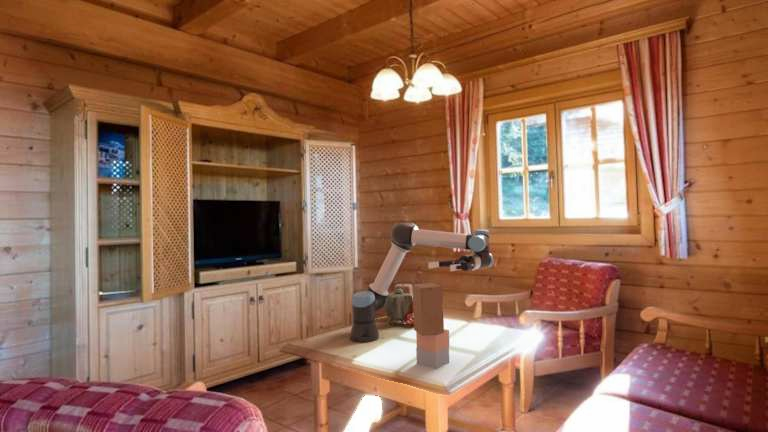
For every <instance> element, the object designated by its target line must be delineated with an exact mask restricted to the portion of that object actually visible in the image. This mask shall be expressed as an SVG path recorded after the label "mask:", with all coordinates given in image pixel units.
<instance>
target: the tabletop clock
mask: <svg viewBox="0 0 768 432" xmlns="http://www.w3.org/2000/svg"><path fill="white" fill-rule="evenodd" d="M396 283H397V284H398V283H401V284H404V282H403V281H401V280H397V281H395V282H394V283H393V288H394V287H395V285H396ZM402 286H403V285H402ZM402 286H401V287H402ZM401 287H400V286H398V287H395V288H398V289H396V290H395V292H394V291H393V292H391V293H389V294H388V296H387V301H386V304H385V306H384V310H385V316H386V317H387V318H390V321H389V322H388V324H389V325H391V324H392V322H393V320H400V324H401V325H404V323H405V322H404V321H405V320H406V319H405V318H407V315H408V314H409V313H410V314H411V313H413V312H412V310H411V306H412V303H413V301H412V296H413V295H412V296H411V294H408V293H403V290H402V289H400V288H401Z"/></svg>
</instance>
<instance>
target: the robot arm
mask: <svg viewBox="0 0 768 432" xmlns="http://www.w3.org/2000/svg"><path fill="white" fill-rule="evenodd" d="M390 236H391V237H390V238H391V240H390V242H391V247H390V249H389V251H388V253H387V256H385V259H384V260H383V263H382V264H381V267H380V269H379V271H378V273H377V275H376V277H375V280H374V282H373V283H370V284H368V287H367V289H366V290H363V291H362V290H361V291H357V292H355V293H354V294H353V295H352V299H351V305H352V307H351V308H352V309H351V310H352V311H351V312H352V325H351V329H350V332H349V339H350V341H352V342H357V343H367V342H373V341H374V342H375V341H377V340H379V338H380V333H379V331H378V327H377V324H376V313H377V312H379V311H381V310H383V308H385V304H386V301H387V296H388V294H390V293H389V288H390V286H391V285H392V283H393V280H394V278H395V276H396V274H397V273H398V270H399V268H400V266H401V264H402V262H403V260H404V259H405V256H406V254H407V253H408V252H411V250H412V248H413V247H414V246H416V245H420V246H421V245H422V246H430V247H431V246H432V247H440V248H449V249H457V250H468V251H472V252H473V253H472V254H466V255H465V254H464V255H462V256H460V257H459V259H449V260H447V259H446V260H435V261H433V262H432V261H429V262H427V265H428V269H429V270H430V269H439V268H442V267H443V268H444V267H449V272H455V271H457V272H458V271H464V272H468V271H469V272H470V271H472V272H474V271H475V270H483V269H488V268H490V267H492V266H493V265H494V261H495V259H494V256H493V254H492V253H490V232H489V230H488V229H475V230H473V234H472V233H462V232H461V233H460V232H450V231H440V230H430V229H420V228H419V227H418V225H417V224H415V223H413V222H411V221H405V222H400V223H399V222H398V223H396V224H395V225H394V226H393V227H392V229H391V231H390Z"/></svg>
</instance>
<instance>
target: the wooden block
mask: <svg viewBox="0 0 768 432" xmlns="http://www.w3.org/2000/svg"><path fill="white" fill-rule="evenodd" d="M412 296H413V313H414V314H413V317H414V325H413V330H414V331H415V333H416V332H418V333H419V334H420V335H422V336H426V335H434V334H442V333H444V329H445V327H444V326H445V325H444V308H443V304H444V298H443V285H440V284H438V283H435V282H428V283H427V282H425V283H417V284H416V283H414V284H412Z"/></svg>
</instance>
